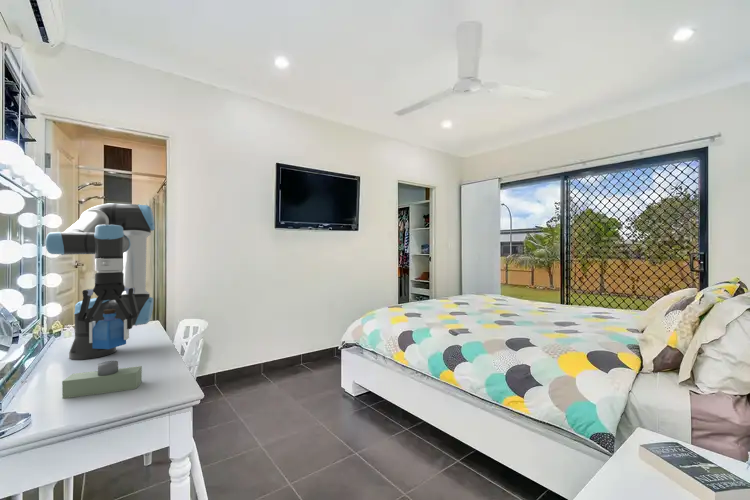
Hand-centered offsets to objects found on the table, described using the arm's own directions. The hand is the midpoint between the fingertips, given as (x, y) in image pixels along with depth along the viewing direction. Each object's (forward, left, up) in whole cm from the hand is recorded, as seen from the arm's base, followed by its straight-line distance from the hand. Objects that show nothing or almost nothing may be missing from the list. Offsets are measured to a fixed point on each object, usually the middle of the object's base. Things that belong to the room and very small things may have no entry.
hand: (109, 340), depth 112 cm
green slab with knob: (+4, +1, -13) cm, 14 cm away
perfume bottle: (0, 0, -2) cm, 2 cm away
